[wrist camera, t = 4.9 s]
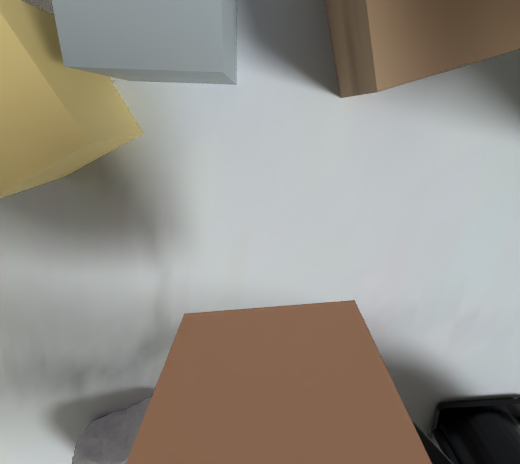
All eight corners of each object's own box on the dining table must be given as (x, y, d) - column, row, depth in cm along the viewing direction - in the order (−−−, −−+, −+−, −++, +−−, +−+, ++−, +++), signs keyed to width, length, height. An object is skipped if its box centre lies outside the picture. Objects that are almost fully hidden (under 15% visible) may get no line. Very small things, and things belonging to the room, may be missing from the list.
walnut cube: (443, -74, 12) (561, -195, 7) (449, 64, 14) (545, 40, 9) (319, -30, 12) (351, -113, 8) (340, 98, 14) (377, 91, 9)
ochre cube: (79, 26, 13) (-21, -19, 9) (143, 133, 15) (89, 143, 10) (-4, 82, 14) (-136, 68, 9) (65, 176, 16) (-18, 203, 11)
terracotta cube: (354, 300, 9) (461, 524, 4) (352, 418, 10) (422, 664, 6) (184, 313, 9) (96, 539, 4) (212, 426, 11) (173, 668, 6)
